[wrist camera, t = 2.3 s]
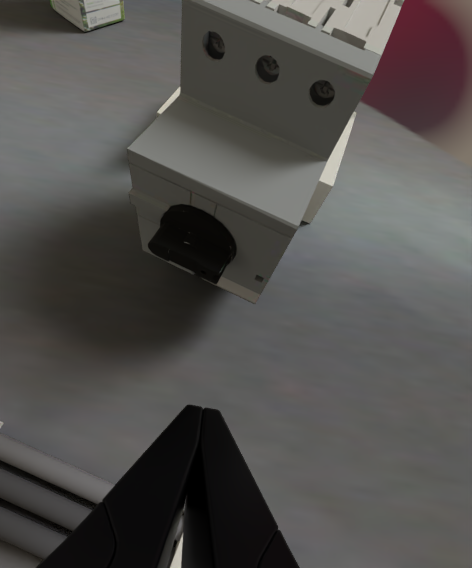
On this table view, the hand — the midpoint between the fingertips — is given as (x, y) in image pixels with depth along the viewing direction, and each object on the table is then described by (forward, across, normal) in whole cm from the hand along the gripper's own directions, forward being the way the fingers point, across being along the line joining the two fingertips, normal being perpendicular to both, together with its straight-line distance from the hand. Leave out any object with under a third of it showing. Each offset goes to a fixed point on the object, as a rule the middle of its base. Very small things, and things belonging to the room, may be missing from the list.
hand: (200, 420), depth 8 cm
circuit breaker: (+18, 0, -1) cm, 18 cm away
